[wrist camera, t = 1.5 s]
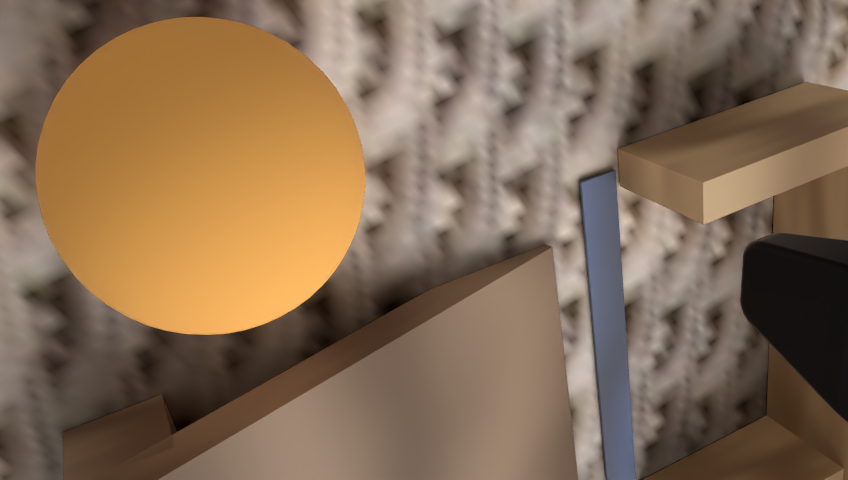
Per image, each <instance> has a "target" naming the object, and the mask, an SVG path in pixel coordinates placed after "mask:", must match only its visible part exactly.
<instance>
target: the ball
mask: <svg viewBox="0 0 848 480" xmlns="http://www.w3.org/2000/svg"><path fill="white" fill-rule="evenodd" d="M35 168H36V189H37V194H38V199H39V205H40V210H41V215H42V218H43V221H44V224H45V226H46V229H47V232H48V235H49V237H50V239H51V241H52V243H53V244H54V246H55V248H56V250H57V252H58V254H59V255H60V257H61V258H62V259H63V261H64V262H65V264H66V265H67V266H68V268H69V269H70V270H71V272H72V273H73V274H74V276H75V277H76V278H77V279H78V280H79V281H80V282H81V283H82V284H83V285H84V286H85V287H86V288H87V289H88V290H89V291H90V292H91V293H92V294H93V295H95V296H96V297H97V298H99V299H100V300H101V301H102V302H104V303H105V304H106V305H108V306H110V307H111V308H113V309H115V310H117V311H118V312H120V313H122V314H123V315H125V316H127V317H129V318H131V319H133V320H136V321H138V322H140V323H143V324H145V325H147V326H151V327H154V328H158V329H161V330H165V331H170V332H177V333H183V334H200V335H213V334H226V333H232V332H237V331H243V330H247V329H250V328H253V327H257V326H260V325H263V324H265V323H268V322H270V321H272V320H274V319H277V318H279V317H281V316H283V315H284V314H286V313H288V312H290V311H291V310H293V309H295V308H296V307H298V306H299V305H300V304H302V303H303V302H304V301H306V300H307V299H308V298H310V297H311V296H312V295H313V294H314V293H315V292H316V291H317V290H318V289H319V288H320V287H321V286H323V284H324V283H325V282H326V281H327V280H328V279H329V277H330V276H331V275H332V274H333V273H334V271H335V270H336V268H337V267H338V265H339V264H340V262H341V261H342V259H343V258H344V256H345V254H346V252H347V250H348V248H349V246H350V244H351V242H352V240H353V238H354V235H355V232H356V229H357V227H358V224H359V221H360V217H361V212H362V208H363V203H364V193H365V166H364V158H363V152H362V145H361V142H360V138H359V135H358V131H357V128H356V125H355V123H354V121H353V119H352V116H351V114H350V112H349V110H348V108H347V106H346V104H345V102H344V101H343V99H342V97H341V96H340V94H339V92H338V91H337V89H336V88H335V86H334V85H333V84H332V83H331V81H330V80H329V79H328V78H327V76H326V75H325V74H324V73H323V72H322V71H321V70H320V69H319V68H318V67H317V66H316V65H315V64H314V63H313V62H312V61H311V60H310V59H309V58H307V57H306V56H305V55H304V54H303V53H301V52H300V51H298V50H297V49H296V48H294V47H293V46H291V45H290V44H289V43H287V42H286V41H284V40H282V39H280V38H278V37H276V36H274V35H272V34H271V33H269V32H266V31H264V30H261V29H258V28H256V27H253V26H250V25H248V24H243V23H239V22H235V21H230V20H226V19H219V18H208V17H182V18H174V19H168V20H162V21H156V22H153V23H150V24H147V25H144V26H140V27H137V28H135V29H133V30H130V31H128V32H126V33H124V34H122V35H120V36H118V37H115V38H114V39H112V40H111V41H109V42H108V43H106V44H105V45H103V46H102V47H100V48H99V49H97V50H96V51H95V52H94V53H92V54H91V55H90V56H89V57H88V58H87V59H86V60H84V61H83V62H82V63H81V64H80V65H79V66H78V67H77V68H76V70H75V71H74V72H73V73H72V74H71V75H70V77H69V78H68V79H67V80H66V81H65V83H64V85H63V86H62V88H61V89H60V91H59V92H58V94H57V96H56V97H55V99H54V101H53V103H52V105H51V108H50V110H49V112H48V114H47V117H46V119H45V121H44V124H43V128H42V131H41V135H40V139H39V143H38V148H37V157H36V166H35Z"/></svg>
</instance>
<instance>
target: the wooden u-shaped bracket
mask: <svg viewBox="0 0 848 480" xmlns="http://www.w3.org/2000/svg"><path fill="white" fill-rule="evenodd" d="M618 162H619V178H620V186H621V187H623V188H625V189H627V190H630V191H632V192H634V193H636V194H638V195H640V196H643V197H645V198H647V199H649V200H651V201H653V202H656V203H658V204H660V205H662V206H664V207H667V208H669V209H671V210H673V211H675V212H677V213H680V214H682V215H684V216H686V217H688V218H690V219H693V220H695V221H697V222H699V223H701V224H703V225H704V224H706V223H709V222H711V221H714V220H716V219H718V218H721V217H723V216H726V215H728V214H731V213H733V212H736V211H738V210H741V209H743V208H745V207H748V206H750V205H753V204H755V203H758V202H760V201H763V200H765V199H768V198H770V197H772V196H774V216H773V234H774V233H790V234H798V235H807V236H815V237H824V238H833V239H841V240H848V91H847V90H842V89H837V88H832V87H827V86H823V85H818V84H813V83H808V82H805V83H802V84H799V85H796V86H793V87H791V88H788V89H785V90H782V91H779V92H776V93H774V94H771V95H768V96H765V97H762V98H760V99H757V100H754V101H751V102H748V103H745V104H743V105H740V106H737V107H734V108H731V109H729V110H726V111H723V112H720V113H717V114H714V115H712V116H709V117H706V118H703V119H700V120H698V121H695V122H692V123H689V124H686V125H683V126H681V127H678V128H675V129H672V130H669V131H667V132H664V133H661V134H658V135H655V136H652V137H650V138H647V139H644V140H641V141H638V142H636V143H633V144H630V145H627V146H624V147H621V148H619V149H618ZM579 183H580V194H581V205H582V216H583V228H584V239H585V250H586V261H587V272H588V284H589V295H590V306H591V317H592V329H593V340H594V351H595V362H596V373H597V385H598V396H599V407H600V418H601V430H602V441H603V452H604V463H605V475H606V480H636V476H635V461H634V446H633V430H632V415H631V400H630V385H629V370H628V354H627V339H626V324H625V309H624V294H623V278H622V263H621V248H620V233H619V218H618V202H617V187H616V172H615V170H611V171H608V172H606V173H603V174H600V175H597V176H595V177H592V178H589V179H586V180H584V181H581V182H579ZM643 480H848V423H847V422H846V421H845V420H844V419H843V418H842V417H841V416H840V415H839V414H837V413H836V412H835V411H834V410H833V409H832V408H831V407H830V406H829V405H828V404H827V403H826V402H825V401H824V400H823V399H822V398H821V397H820V396H819V395H818V394H817V393H816V391H815V390H814V389H813V388H812V387H811V386H810V385H809V384H808V383H807V382H806V381H805V380H804V379H803V378H802V377H801V376H800V375H799V374H798V373H797V372H796V371H795V369H794V368H793V367H792V366H791V365H790V364H789V363H788V362H787V361H786V360H785V359H784V358H783V357H782V356H781V355H780V354H779V353H778V352H777V351H776V350H775V348H774V347H773V346H772V345H771V344H770V343H769V360H768V389H767V415H766V416H764V417H762V418H761V419H759V420H757V421H755V422H753V423H751V424H749V425H747V426H745V427H743V428H741V429H739V430H737V431H735V432H734V433H732V434H730V435H728V436H726V437H724V438H722V439H720V440H718V441H716V442H714V443H712V444H710V445H708V446H707V447H705V448H703V449H701V450H699V451H697V452H695V453H693V454H691V455H689V456H687V457H685V458H683V459H682V460H680V461H678V462H676V463H674V464H672V465H670V466H668V467H666V468H664V469H662V470H660V471H658V472H656V473H655V474H653V475H651V476H649V477H647V478H645V479H643Z"/></svg>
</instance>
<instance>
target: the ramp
mask: <svg viewBox="0 0 848 480" xmlns="http://www.w3.org/2000/svg"><path fill="white" fill-rule="evenodd" d="M62 438H63V480H578V475H577V466H576V457H575V448H574V439H573V430H572V421H571V412H570V403H569V394H568V385H567V376H566V367H565V358H564V349H563V340H562V331H561V322H560V313H559V303H558V294H557V285H556V276H555V267H554V258H553V249H552V247H551V246H548V245H543V246H540V247H538V248H535V249H533V250H530V251H527V252H525V253H522V254H520V255H517V256H515V257H512V258H509V259H507V260H504V261H502V262H499V263H496V264H494V265H491V266H489V267H486V268H484V269H481V270H478V271H476V272H473V273H471V274H468V275H465V276H463V277H460V278H458V279H455V280H453V281H450V282H447V283H445V284H442V285H440V286H437V287H434V288H432V289H430V290H428V291H426V292H424V293H422V294H421V295H419V296H417V297H415V298H414V299H412V300H410V301H408V302H407V303H405V304H403V305H401V306H399V307H398V308H396V309H394V310H392V311H391V312H389V313H387V314H385V315H384V316H382V317H380V318H378V319H376V320H375V321H373V322H371V323H369V324H368V325H366V326H364V327H362V328H360V329H359V330H357V331H355V332H353V333H352V334H350V335H348V336H346V337H345V338H343V339H341V340H339V341H337V342H336V343H334V344H332V345H330V346H329V347H327V348H325V349H323V350H322V351H320V352H318V353H316V354H314V355H313V356H311V357H309V358H307V359H306V360H304V361H302V362H300V363H299V364H297V365H295V366H293V367H291V368H290V369H288V370H286V371H284V372H283V373H281V374H279V375H277V376H275V377H274V378H272V379H270V380H268V381H267V382H265V383H263V384H261V385H260V386H258V387H256V388H254V389H252V390H251V391H249V392H247V393H245V394H244V395H242V396H240V397H238V398H237V399H235V400H233V401H231V402H229V403H228V404H226V405H224V406H222V407H221V408H219V409H217V410H215V411H214V412H212V413H210V414H208V415H206V416H205V417H203V418H201V419H199V420H198V421H196V422H194V423H192V424H190V425H189V426H187V427H185V428H183V429H182V430H180V431H178V432H177V431H176V428H175V426H174V423H173V421H172V418H171V416H170V413H169V411H168V408H167V406H166V404H165V401H164V399H163V396H162V394H161V395H158V396H156V397H153V398H151V399H148V400H146V401H143V402H140V403H138V404H135V405H133V406H130V407H128V408H125V409H122V410H120V411H117V412H115V413H112V414H109V415H107V416H104V417H102V418H99V419H97V420H94V421H91V422H89V423H86V424H84V425H81V426H78V427H76V428H73V429H71V430H68V431H66V432H63V433H62Z"/></svg>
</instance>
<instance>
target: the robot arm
mask: <svg viewBox="0 0 848 480" xmlns="http://www.w3.org/2000/svg"><path fill="white" fill-rule="evenodd" d="M740 302H741V307H742V310H743V313H744V315H745V317H746V318H747V320H748V321H749V322H750V323H751V324H752V325H753V326H754V328H755V329H756V330H757V331H758V332H759V333H760V334H761V335H762V336H763V337H764V338H765V339H766V340H767V341H768V342H769V343H770V344H771V345H772V346H773V347H774V348H775V350H776V351H777V352H778V353H779V354H780V355H781V356H782V357H783V358H784V359H785V360H786V361H787V362H788V363H789V364H790V365H791V366H792V367H793V368H794V369H795V371H796V372H797V373H798V374H799V375H800V376H801V377H802V378H803V379H804V380H805V381H806V382H807V383H808V384H809V385H810V386H811V387H812V388H813V389H814V390H815V391H816V393H817V394H818V395H819V396H820V397H821V398H822V399H823V400H824V401H825V402H826V403H827V404H828V405H829V406H830V407H831V408H832V409H833V410H834V411H835V412H836V413H837V414H839V415H840V416H841V417H842V418H843V419H844V420H845V421H846V422H847V423H848V240H841V239H833V238H824V237H815V236H807V235H798V234H790V233H774V234H771V235H768V236H766V237H763V238H761V239H758V240H755V241H753V242H751V243H750V244H749V245H748V246H747V247H746V249H745V251H744V255H743V266H742V282H741V297H740Z"/></svg>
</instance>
